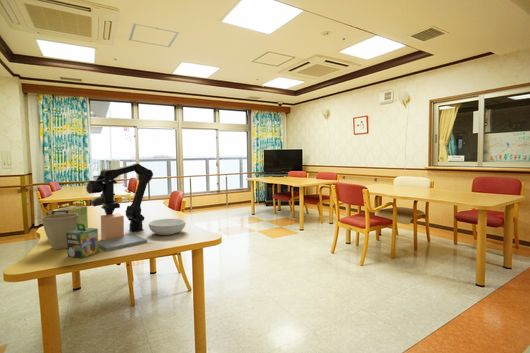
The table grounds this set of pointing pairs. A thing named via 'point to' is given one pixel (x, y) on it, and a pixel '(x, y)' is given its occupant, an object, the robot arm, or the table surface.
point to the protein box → (78, 210)
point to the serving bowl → (166, 226)
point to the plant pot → (59, 228)
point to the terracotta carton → (112, 226)
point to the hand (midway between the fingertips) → (108, 219)
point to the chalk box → (82, 242)
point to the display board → (121, 242)
